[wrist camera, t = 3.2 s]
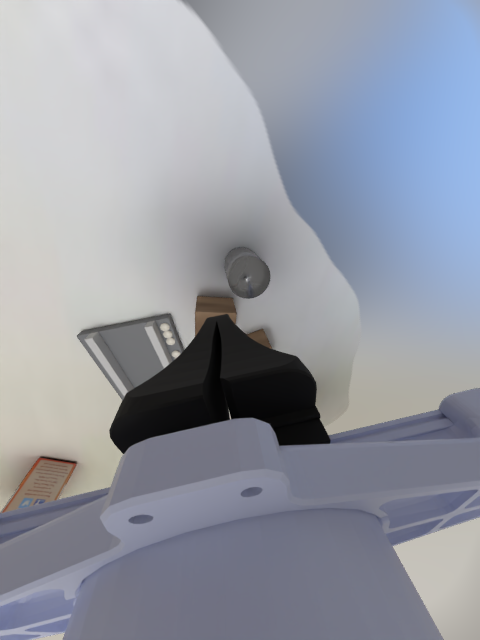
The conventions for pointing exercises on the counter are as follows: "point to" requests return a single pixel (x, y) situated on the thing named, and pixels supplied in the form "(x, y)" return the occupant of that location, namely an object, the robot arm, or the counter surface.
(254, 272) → the metal peg
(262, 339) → the walnut block
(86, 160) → the counter surface
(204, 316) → the walnut block
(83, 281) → the counter surface
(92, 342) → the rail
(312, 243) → the counter surface
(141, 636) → the robot arm
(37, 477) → the cracker box
